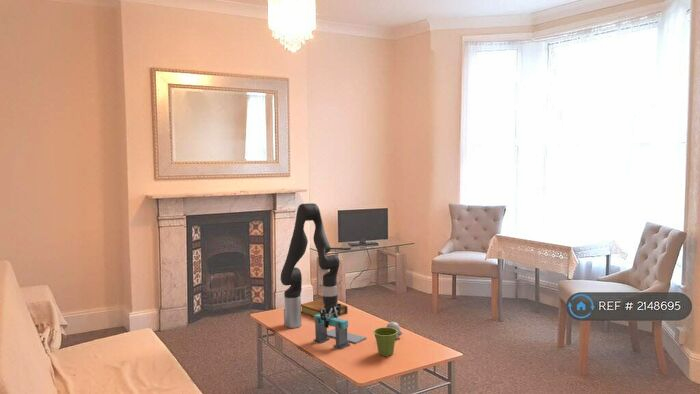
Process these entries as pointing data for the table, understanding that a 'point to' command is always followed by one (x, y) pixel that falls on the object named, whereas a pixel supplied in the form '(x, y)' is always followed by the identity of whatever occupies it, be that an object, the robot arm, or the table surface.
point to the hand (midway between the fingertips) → (330, 325)
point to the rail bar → (333, 321)
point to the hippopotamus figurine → (395, 326)
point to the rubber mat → (350, 337)
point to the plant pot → (385, 340)
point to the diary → (315, 307)
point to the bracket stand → (322, 337)
